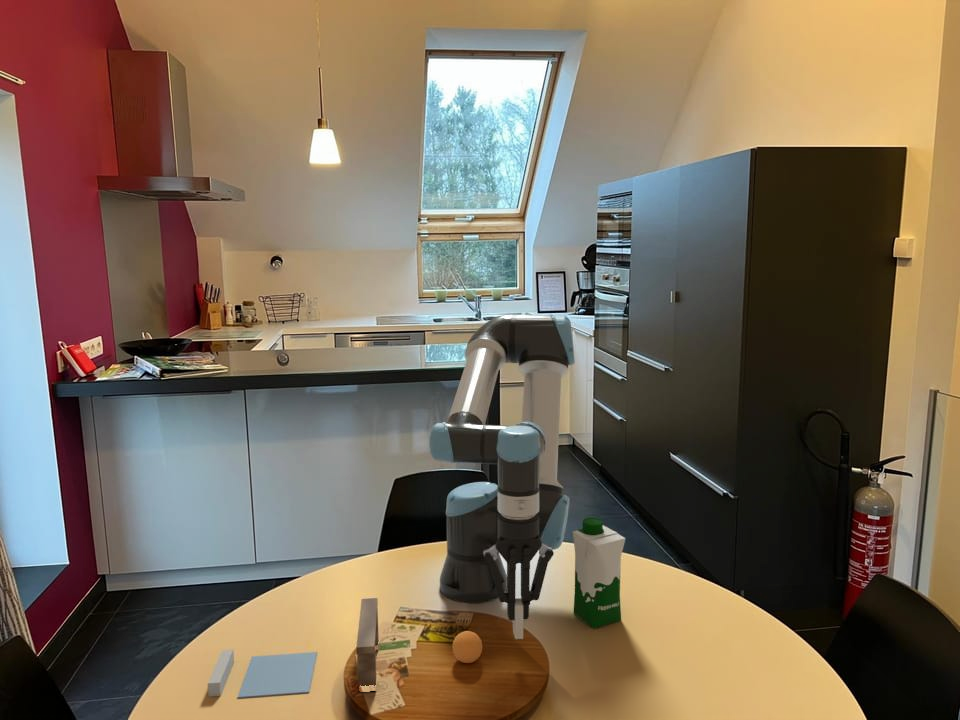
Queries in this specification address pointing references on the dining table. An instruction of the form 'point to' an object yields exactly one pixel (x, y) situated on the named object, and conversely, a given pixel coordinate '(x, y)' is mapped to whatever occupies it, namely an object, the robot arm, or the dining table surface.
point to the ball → (467, 647)
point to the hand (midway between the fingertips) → (517, 634)
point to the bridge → (367, 642)
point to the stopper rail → (221, 673)
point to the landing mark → (278, 675)
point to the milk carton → (597, 573)
